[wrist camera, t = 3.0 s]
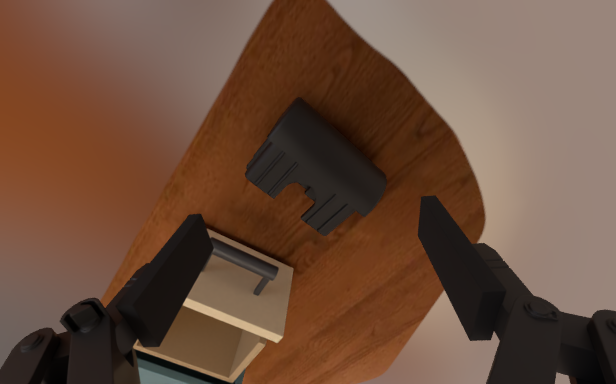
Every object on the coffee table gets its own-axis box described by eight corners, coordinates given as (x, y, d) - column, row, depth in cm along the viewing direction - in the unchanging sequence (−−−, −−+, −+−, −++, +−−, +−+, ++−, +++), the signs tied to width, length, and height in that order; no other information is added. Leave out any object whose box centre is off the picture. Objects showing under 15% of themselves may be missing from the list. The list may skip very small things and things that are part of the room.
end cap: (379, 160, 26) (395, 194, 20) (330, 205, 29) (331, 246, 23) (302, 88, 23) (293, 103, 17) (256, 146, 26) (235, 175, 20)
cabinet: (162, 276, 36) (105, 356, 27) (258, 316, 39) (237, 400, 30) (142, 324, 42) (90, 404, 33) (228, 356, 45) (202, 437, 35)
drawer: (202, 192, 28) (154, 248, 20) (310, 246, 31) (305, 313, 23) (164, 280, 35) (119, 346, 27) (255, 317, 38) (237, 387, 30)
